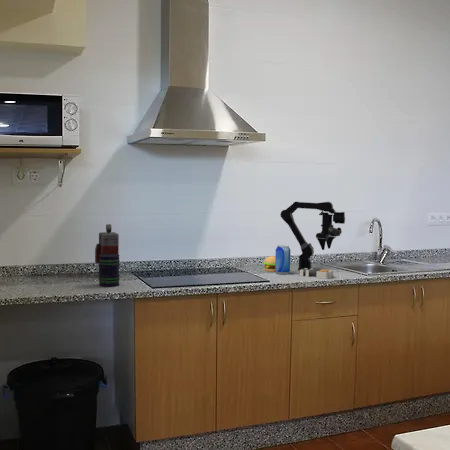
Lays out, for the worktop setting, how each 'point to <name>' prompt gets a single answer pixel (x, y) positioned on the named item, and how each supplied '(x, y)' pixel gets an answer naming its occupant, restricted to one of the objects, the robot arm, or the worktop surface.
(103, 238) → the thermos flask
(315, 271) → the stamp-like rod
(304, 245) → the robot arm
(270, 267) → the hamburger
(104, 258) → the storage jar
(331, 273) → the cream arch-shaped block
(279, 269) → the beer can
